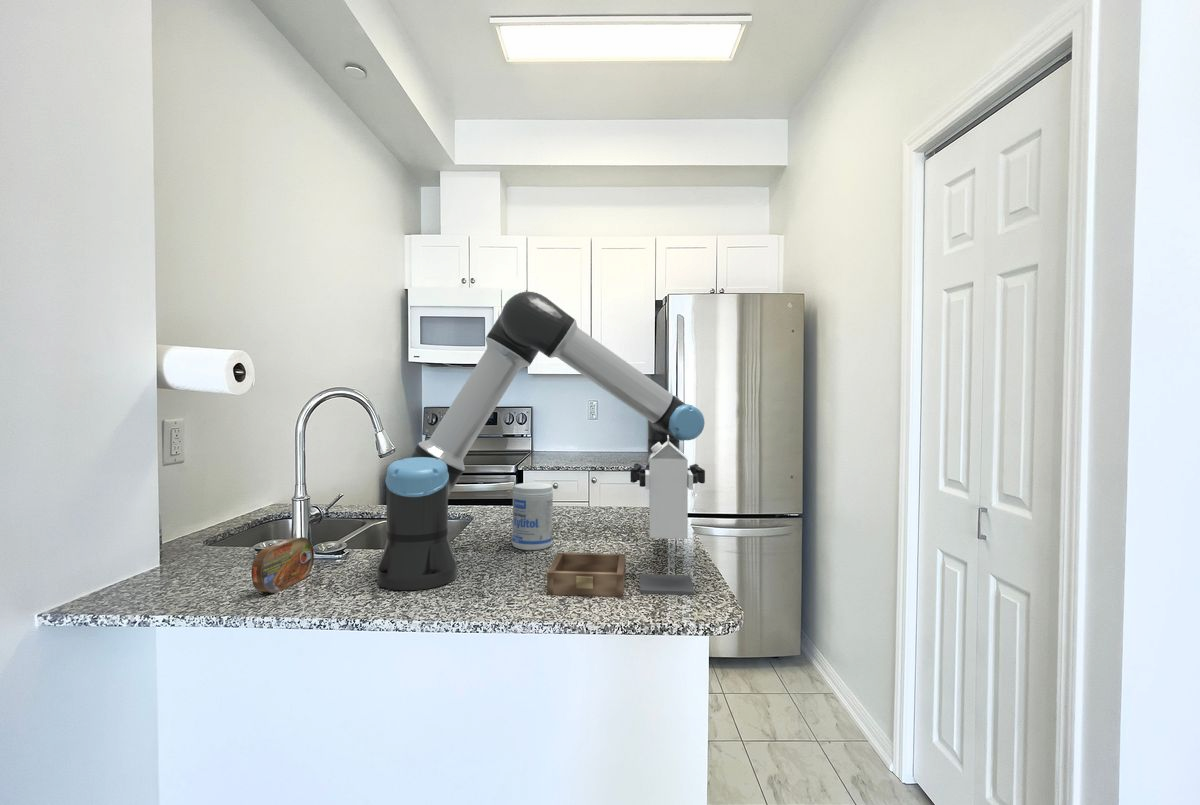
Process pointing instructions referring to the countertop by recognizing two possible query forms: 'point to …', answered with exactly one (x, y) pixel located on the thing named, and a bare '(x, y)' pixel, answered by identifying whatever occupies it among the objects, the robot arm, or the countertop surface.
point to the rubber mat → (666, 584)
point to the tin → (282, 565)
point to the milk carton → (668, 492)
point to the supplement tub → (532, 516)
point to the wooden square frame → (587, 574)
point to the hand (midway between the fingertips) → (669, 482)
